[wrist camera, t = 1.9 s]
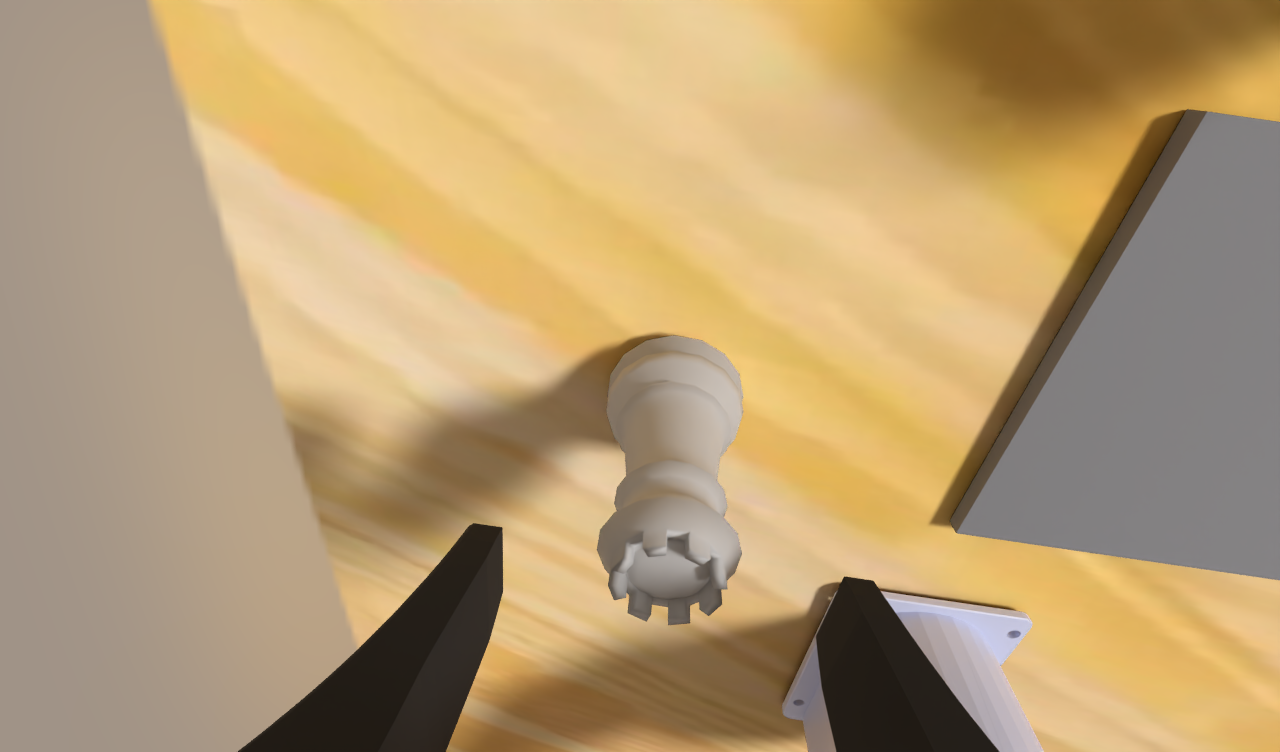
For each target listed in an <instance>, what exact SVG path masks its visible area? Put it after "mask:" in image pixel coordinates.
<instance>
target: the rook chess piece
mask: <svg viewBox="0 0 1280 752" xmlns="http://www.w3.org/2000/svg"><path fill="white" fill-rule="evenodd" d="M607 396H608V402H607V408H606V412H607V416H608V420H609V423H610V426H611V429H612V432H613V435H614V438H615V439H616V440H617V441H618V443H619V444H620V446H621V449H622V450H623V452H624V453H625V462H626V477H625V478H624V479H623V481H622V482H621V483H620V484H619V486H618V487H617V491H616V497H615V502H614V504H615V507H616V510H617V512H615V513H614V514H613V515H612V516H611V517H610V519H609V520H608V521H607V522H606V523H605V525H604V526H603V527H602V528H601V530H600V534H599V540H598V546H597V551H598V553H599V556H600V558H601V561H602V564H603V566H604V569H605V570H606V571H607V572H608V573H609V575H610V576H609V583H608V586H609V589H610V591H611V594H612V596H613V599H614V600H618V599H622V598H626V593H628V594H629V605H628V613H629V614H631V615H633V616H635V617H638V618H640V619H642V620H644V621H646V622H647V620H648V618H649V617H650V615H651V607H652V605H658V606H664V607H668V625H675V624H687V623H690V605H692V604H695V603H697V602H699V609H700V610H701V611H702V612H704V613H705V614H707V615H708V616H709V615H711V614H712V613H713V612H714V611H715V610H716V609H717V608H718V607H720V606H721V605H722V595H721V589H727V580H728V579H729V578H730V577H731V576H732V575H733V574H734V573H735V571H736V568H737V566H738V563H739V560H740V557H741V555H742V552H741V547H740V543H739V538H738V533H737V532H736V531H735V530H734V529H733V528H732V526H731V525H730V524H729V523H728V522H727V521H726V519H725V518H724V515H725V512H726V509H727V501H726V497H725V492H724V489H723V488H722V486H721V485H720V484H719V483H718V482H717V477H718V469H719V462H720V457H721V456H722V455H723V454H724V453H725V452H726V451H727V447H728V446H729V445H730V444H731V443H732V442H733V441H734V440H735V437H736V434H737V431H738V428H739V425H740V421H741V418H742V415H743V406H742V399H743V392H742V387H741V381H740V375H739V373H738V372H737V370H736V369H735V367H734V366H733V365H732V363H731V362H730V361H729V359H728V358H727V356H726V355H725V354H724V353H722V352H721V351H719V350H717V349H716V348H714V347H712V346H711V345H709V344H707V343H706V342H704V341H702V340H698V339H692V338H686V337H680V336H675V335H673V336H668V337H662V338H657V339H651V340H646V341H645V342H643V343H641V344H640V345H638V346H637V347H635V348H633V349H632V350H630V351H629V352H627V353H625V354H624V355H623V357H622V358H621V360H620V361H619V362H618V364H617V365H616V367H615V368H614V370H613V371H612V373H611V375H610V382H609V389H608V395H607Z"/></svg>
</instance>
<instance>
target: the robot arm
mask: <svg viewBox="0 0 1280 752" xmlns="http://www.w3.org/2000/svg"><path fill="white" fill-rule="evenodd" d="M502 593H503V534H502V527H496V526H489V525H482V524H475V523H473V524H472V525H470V526H468V528H467V529H466V530H465V532H464V533H463V534H462V536H461V537H460V538H459V539H458V541H457V542H456V543H455V544H454V546H453V547H452V548H451V549H450V551H449V552H448V553H447V554H446V556H445V557H444V558H443V559H442V560H441V562H440V563H439V564H438V565H437V566H436V567H435V569H434V570H433V571H432V572H431V573H430V574H429V576H428V577H427V578H426V579H425V580H424V581H423V582H422V583H421V584H420V586H419V587H418V588H417V589H416V590H415V591H414V592H413V593H412V594H411V595H410V596H409V598H408V599H407V600H406V601H405V602H404V603H403V604H402V605H401V606H400V607H399V608H398V610H397V611H396V612H395V613H394V614H393V615H392V616H391V617H390V618H389V619H388V620H387V621H386V622H385V623H384V624H383V625H382V626H381V627H380V628H379V629H378V630H377V631H376V632H375V633H374V634H373V635H372V636H371V637H370V638H369V639H368V640H367V641H366V642H365V643H364V644H363V645H362V646H361V647H360V648H359V649H358V650H357V651H356V652H355V653H354V654H352V655H351V656H350V657H349V658H348V659H347V660H346V661H345V662H344V663H343V664H342V665H341V666H340V667H339V668H337V669H336V670H335V671H334V672H333V673H332V674H331V675H330V676H329V677H328V678H326V679H325V680H324V681H323V682H322V683H321V684H320V685H318V686H317V687H316V688H315V689H314V690H313V691H312V692H310V693H309V694H308V695H307V696H306V697H305V698H304V699H302V700H301V701H300V702H299V703H298V704H296V705H295V706H294V707H293V708H291V709H290V710H289V711H288V712H287V713H285V714H284V715H283V716H282V717H280V718H279V719H278V720H277V721H276V722H274V723H273V724H272V725H271V726H270V727H268V728H267V729H266V730H265V731H263V732H262V733H261V734H260V735H258V736H257V737H256V738H255V739H253V740H252V741H251V742H250V743H248V744H247V745H246V746H244V747H243V748H242V749H241V750H239V751H238V752H446V750H447V747H448V744H449V742H450V739H451V737H452V734H453V732H454V729H455V727H456V724H457V722H458V719H459V717H460V714H461V712H462V709H463V706H464V704H465V701H466V699H467V696H468V694H469V691H470V689H471V686H472V684H473V681H474V679H475V676H476V673H477V671H478V668H479V666H480V663H481V661H482V658H483V656H484V653H485V650H486V648H487V645H488V643H489V640H490V636H491V633H492V629H493V626H494V622H495V619H496V615H497V612H498V608H499V604H500V601H501V597H502ZM1031 627H1032V621H1031V620H1030V618H1029V616H1028V615H1027V614H1026V613H1024V612H1020V611H1014V610H1007V609H1000V608H993V607H986V606H979V605H972V604H965V603H959V602H952V601H945V600H938V599H931V598H924V597H917V596H911V595H904V594H897V593H890V592H883V591H880V590H879V588H878V587H877V585H876V584H875V583H874V581H871V580H864V579H858V578H851V577H844V578H843V580H842V582H841V584H840V586H839V588H838V590H837V591H836V592H835V594H834V596H833V598H832V600H831V602H830V604H829V607H828V609H827V611H826V613H825V615H824V617H823V619H822V621H821V624H820V626H819V628H818V630H817V632H816V634H815V636H814V638H813V641H812V643H811V645H810V647H809V649H808V651H807V653H806V655H805V658H804V660H803V662H802V664H801V666H800V668H799V670H798V672H797V674H796V677H795V679H794V681H793V683H792V685H791V687H790V689H789V691H788V694H787V696H786V698H785V700H784V702H783V704H782V712H783V715H784V716H785V717H787V718H790V719H796V720H803V725H804V731H805V737H806V742H807V748H808V752H1044V751H1043V749H1042V747H1041V745H1040V743H1039V741H1038V739H1037V737H1036V735H1035V733H1034V731H1033V729H1032V727H1031V725H1030V723H1029V721H1028V719H1027V717H1026V715H1025V713H1024V711H1023V709H1022V708H1021V706H1020V704H1019V702H1018V700H1017V698H1016V696H1015V694H1014V692H1013V690H1012V688H1011V686H1010V684H1009V682H1008V680H1007V678H1006V676H1005V674H1004V672H1003V670H1002V668H1001V665H1002V664H1003V663H1004V661H1005V660H1006V659H1007V658H1008V656H1009V655H1010V654H1011V653H1012V651H1013V650H1014V649H1015V648H1016V646H1017V645H1018V644H1019V643H1020V641H1021V640H1022V639H1023V637H1024V636H1025V635H1026V634H1027V632H1028V631H1029V630H1030V629H1031Z"/></svg>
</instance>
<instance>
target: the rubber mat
mask: <svg viewBox="0 0 1280 752" xmlns="http://www.w3.org/2000/svg"><path fill="white" fill-rule="evenodd" d="M950 523H951V525H952V526H953V528H954V530H955V532H956V533H958V534H965V535H972V536H979V537H986V538H993V539H1000V540H1007V541H1013V542H1020V543H1027V544H1034V545H1041V546H1048V547H1055V548H1062V549H1068V550H1075V551H1082V552H1089V553H1096V554H1103V555H1110V556H1117V557H1123V558H1130V559H1137V560H1144V561H1151V562H1158V563H1165V564H1172V565H1178V566H1185V567H1192V568H1199V569H1206V570H1213V571H1220V572H1227V573H1233V574H1240V575H1247V576H1254V577H1261V578H1268V579H1275V580H1280V122H1276V121H1269V120H1262V119H1255V118H1248V117H1241V116H1234V115H1227V114H1220V113H1213V112H1206V111H1197V110H1189V109H1187V110H1186V112H1185V114H1184V116H1183V117H1182V119H1181V121H1180V123H1179V124H1178V126H1177V128H1176V129H1175V131H1174V133H1173V135H1172V136H1171V138H1170V140H1169V142H1168V143H1167V145H1166V147H1165V149H1164V150H1163V152H1162V154H1161V155H1160V157H1159V159H1158V161H1157V162H1156V164H1155V166H1154V168H1153V169H1152V171H1151V173H1150V175H1149V176H1148V178H1147V180H1146V181H1145V183H1144V185H1143V187H1142V188H1141V190H1140V192H1139V194H1138V195H1137V197H1136V199H1135V201H1134V202H1133V204H1132V206H1131V207H1130V209H1129V211H1128V213H1127V214H1126V216H1125V218H1124V220H1123V221H1122V223H1121V225H1120V227H1119V228H1118V230H1117V232H1116V233H1115V235H1114V237H1113V239H1112V240H1111V242H1110V244H1109V246H1108V247H1107V249H1106V251H1105V253H1104V254H1103V256H1102V258H1101V259H1100V261H1099V263H1098V265H1097V266H1096V268H1095V270H1094V272H1093V273H1092V275H1091V277H1090V279H1089V280H1088V282H1087V284H1086V285H1085V287H1084V289H1083V291H1082V292H1081V294H1080V296H1079V298H1078V299H1077V301H1076V303H1075V304H1074V306H1073V308H1072V310H1071V311H1070V313H1069V315H1068V317H1067V318H1066V320H1065V322H1064V324H1063V325H1062V327H1061V329H1060V330H1059V332H1058V334H1057V336H1056V337H1055V339H1054V341H1053V343H1052V344H1051V346H1050V348H1049V350H1048V351H1047V353H1046V355H1045V356H1044V358H1043V360H1042V362H1041V363H1040V365H1039V367H1038V369H1037V370H1036V372H1035V374H1034V376H1033V377H1032V379H1031V381H1030V382H1029V384H1028V386H1027V388H1026V389H1025V391H1024V393H1023V395H1022V396H1021V398H1020V400H1019V402H1018V403H1017V405H1016V407H1015V408H1014V410H1013V412H1012V414H1011V415H1010V417H1009V419H1008V421H1007V422H1006V424H1005V426H1004V428H1003V429H1002V431H1001V433H1000V434H999V436H998V438H997V440H996V441H995V443H994V445H993V447H992V448H991V450H990V452H989V454H988V455H987V457H986V459H985V460H984V462H983V464H982V466H981V467H980V469H979V471H978V473H977V474H976V476H975V478H974V480H973V481H972V483H971V485H970V486H969V488H968V490H967V492H966V493H965V495H964V497H963V499H962V500H961V502H960V504H959V506H958V507H957V509H956V511H955V512H954V514H953V516H952V518H951V519H950Z"/></svg>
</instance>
